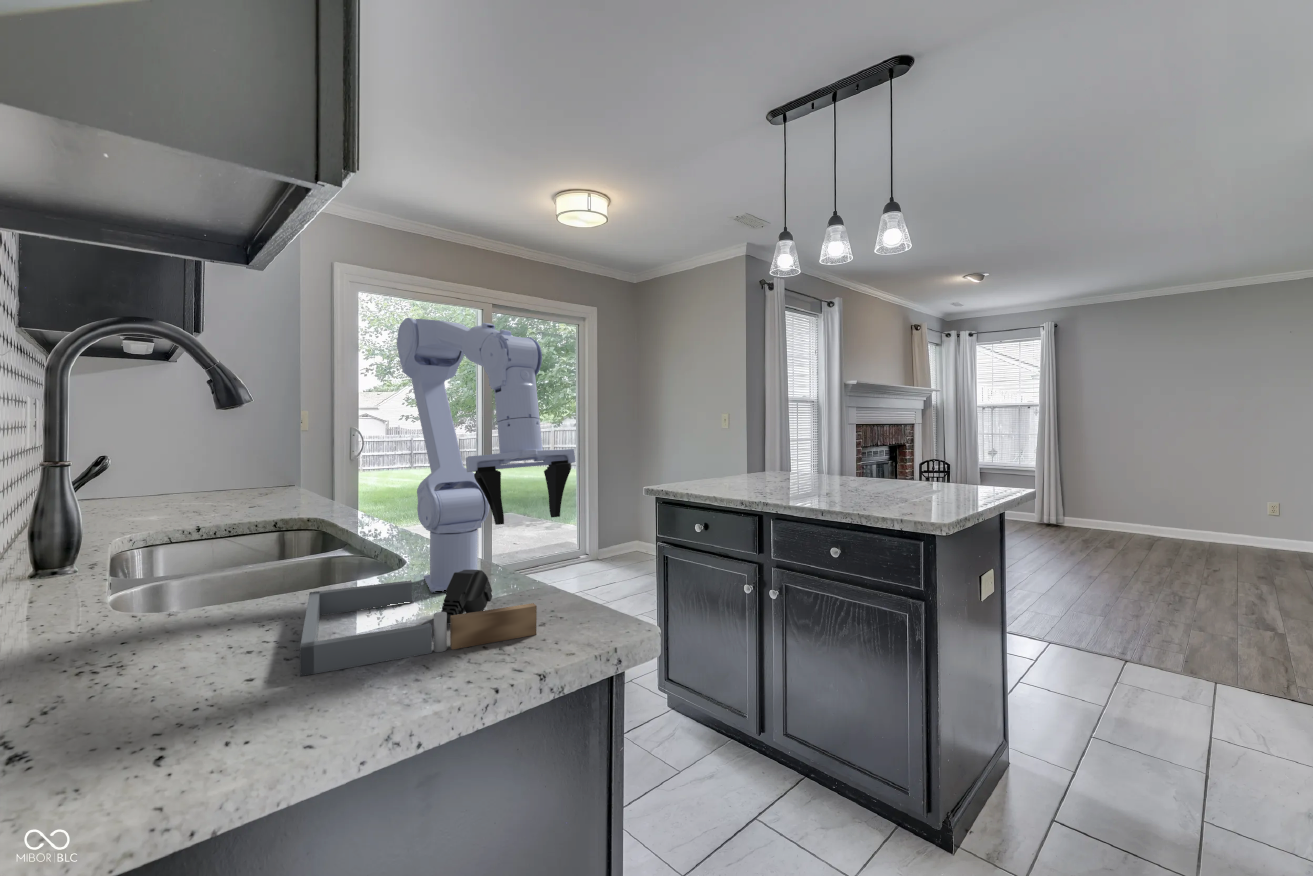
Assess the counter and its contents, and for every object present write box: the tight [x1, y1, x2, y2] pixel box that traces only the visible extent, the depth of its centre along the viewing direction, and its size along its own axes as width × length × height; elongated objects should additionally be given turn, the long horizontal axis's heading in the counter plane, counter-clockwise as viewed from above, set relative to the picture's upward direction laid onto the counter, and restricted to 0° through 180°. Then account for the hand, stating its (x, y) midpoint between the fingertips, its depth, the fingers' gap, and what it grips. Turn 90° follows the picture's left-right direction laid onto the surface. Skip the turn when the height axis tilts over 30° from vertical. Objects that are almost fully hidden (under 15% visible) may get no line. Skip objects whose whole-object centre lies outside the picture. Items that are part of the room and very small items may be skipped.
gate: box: [449, 602, 538, 650], centre depth 69 cm, size 10×1×4 cm, turn 119°
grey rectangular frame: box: [299, 580, 448, 677], centre depth 71 cm, size 21×14×4 cm
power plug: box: [440, 569, 493, 625], centre depth 75 cm, size 6×8×12 cm
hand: (528, 520), depth 77 cm, fingers open, 7 cm apart
